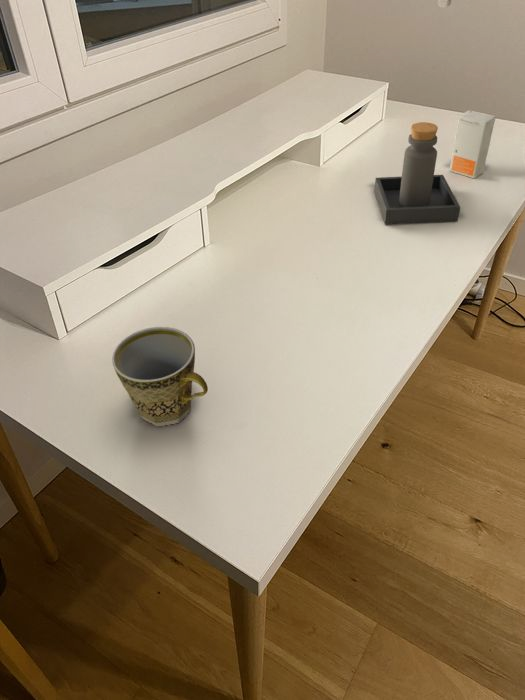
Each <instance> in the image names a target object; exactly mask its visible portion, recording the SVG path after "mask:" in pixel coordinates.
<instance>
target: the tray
mask: <svg viewBox="0 0 525 700" xmlns="http://www.w3.org/2000/svg"><path fill="white" fill-rule="evenodd" d="M401 179H402V176H383V177H382V176H381V177H375V179H374V195H375V199H376V202H377V205H378V208H379V210H380V211H379V212H380V214H381V216H382V220H383V223H384V226H389V225H392V226H393V225H394V226H395V225H413V224H414V225H417V224H437V223H439V224H441V223H457V222H458V221H459V215H460V212H461V211H460V210H461V205H460V203H459V202H458V200H457V198H456V196H455V195H454V192H453V190H452V189H451V187H450V185H449V183H448V182H447V179H446V177H445V176H444V174H434V178H433V184H432V190H431V196H430V202H429V205H428V206H426V207H402V206H401V205H400V204H399V197H400V188H401Z"/></svg>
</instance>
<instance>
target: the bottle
mask: <svg viewBox="0 0 525 700" xmlns="http://www.w3.org/2000/svg"><path fill="white" fill-rule="evenodd" d="M438 129H439V126H438V125H436V124H435V123H433V122H426V121H424V122H423V121H421V122H415V123H413V124H412V125H410V132H411V133H410V134H409V135H408V138H407V139H408V140H407V142H408V144H410V145H409V146H407V147H406V148H405V150H404V156H403V164H402V171H401V173H402V174H401V177H402V179H401V188H400V197H399V204H400V205H401V206H402V207H426V206H428V205H429V202H430V196H431V190H432V184H433V178H434V175H435V171H436V164H437V158H438V150H437V149H436V147H434V146H435V145H437V144H438V136H437V133H438Z"/></svg>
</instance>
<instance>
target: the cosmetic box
mask: <svg viewBox="0 0 525 700" xmlns="http://www.w3.org/2000/svg"><path fill="white" fill-rule="evenodd" d="M495 122H496V116H495V115H492V114H487V113H486V112H485V113H484V112H480V111H479V112H478V111H473V110H470V109H469V110H467V111H465V112H464V113H462V114H460V115H459V117H458V121H457V127H456V133H455V137H454V144H453V149H452V154H451V159H450V165H449V172H451V173H455V174H458V175H461V176H463V177H468V178H470V179H472V180H473V179H476V178H477V177H479V176H480V175H481V174H483V173H484V172H485V167H486V163H487V157H488V153H489V150H490V149H489V148H490V145H491V144H490V143H491V139H492V135H493V131H494V127H495Z"/></svg>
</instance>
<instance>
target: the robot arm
mask: <svg viewBox="0 0 525 700" xmlns="http://www.w3.org/2000/svg"><path fill="white" fill-rule="evenodd" d="M451 4H452V0H437V6H438V7H439V8H447V7H450V6H451Z"/></svg>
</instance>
